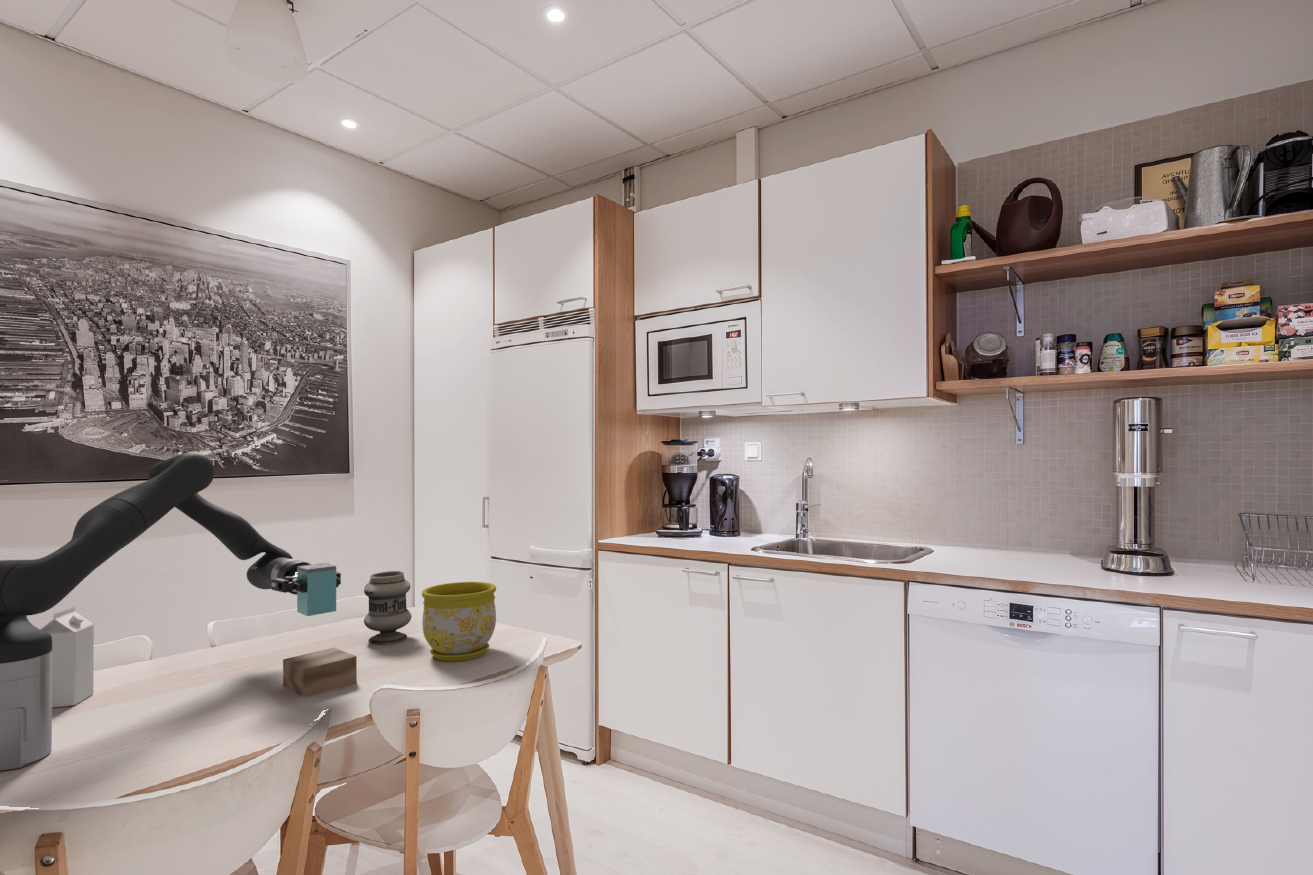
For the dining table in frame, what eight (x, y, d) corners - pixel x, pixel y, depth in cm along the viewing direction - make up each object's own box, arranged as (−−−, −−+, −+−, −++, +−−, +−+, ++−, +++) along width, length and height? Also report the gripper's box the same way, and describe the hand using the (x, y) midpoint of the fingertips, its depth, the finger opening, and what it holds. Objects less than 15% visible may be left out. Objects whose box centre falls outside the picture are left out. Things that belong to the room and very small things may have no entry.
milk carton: (32, 710, 133) (32, 615, 133) (53, 697, 140) (54, 607, 140) (74, 706, 135) (75, 612, 135) (93, 694, 142) (94, 604, 142)
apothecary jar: (353, 644, 176) (353, 576, 177) (382, 632, 188) (382, 568, 188) (393, 647, 173) (393, 578, 174) (420, 634, 185) (420, 570, 185)
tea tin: (336, 610, 146) (336, 565, 147) (307, 616, 142) (307, 569, 142) (325, 606, 151) (325, 562, 151) (297, 611, 146) (297, 566, 146)
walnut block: (356, 683, 146) (356, 656, 147) (304, 698, 138) (304, 669, 138) (334, 673, 154) (333, 647, 154) (283, 686, 145) (283, 659, 145)
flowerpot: (478, 666, 156) (478, 596, 157) (408, 663, 159) (407, 595, 159) (507, 644, 174) (507, 581, 174) (443, 642, 177) (443, 580, 177)
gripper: (259, 564, 151) (285, 572, 140) (325, 556, 161) (354, 563, 150) (259, 597, 151) (285, 608, 139) (325, 587, 161) (354, 596, 150)
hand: (321, 585), depth 145 cm, fingers closed on tea tin, 6 cm apart
